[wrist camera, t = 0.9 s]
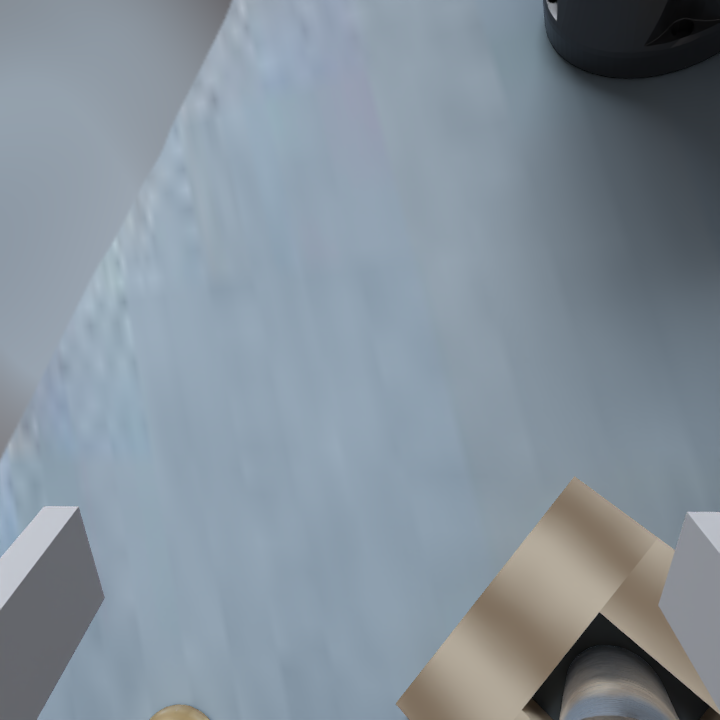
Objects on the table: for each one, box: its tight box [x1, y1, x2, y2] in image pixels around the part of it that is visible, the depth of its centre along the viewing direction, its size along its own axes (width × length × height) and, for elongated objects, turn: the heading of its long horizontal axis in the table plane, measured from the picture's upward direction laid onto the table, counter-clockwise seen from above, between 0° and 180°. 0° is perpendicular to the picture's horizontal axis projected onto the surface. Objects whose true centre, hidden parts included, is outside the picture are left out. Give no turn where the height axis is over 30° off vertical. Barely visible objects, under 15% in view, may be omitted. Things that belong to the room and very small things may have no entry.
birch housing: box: [396, 477, 720, 720], centre depth 27 cm, size 16×16×3 cm
